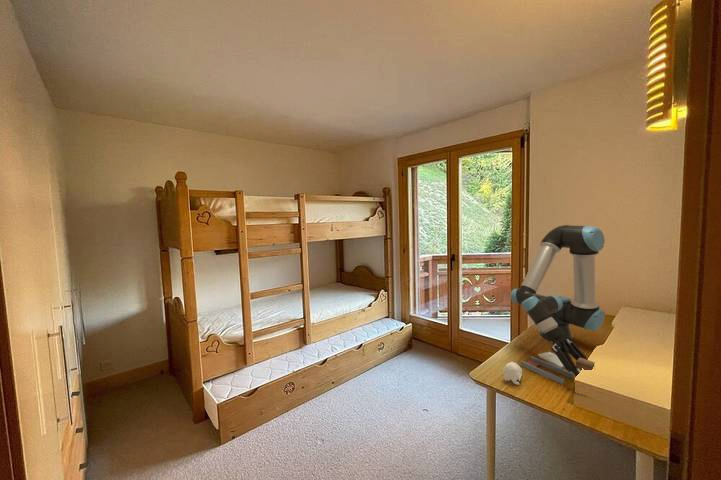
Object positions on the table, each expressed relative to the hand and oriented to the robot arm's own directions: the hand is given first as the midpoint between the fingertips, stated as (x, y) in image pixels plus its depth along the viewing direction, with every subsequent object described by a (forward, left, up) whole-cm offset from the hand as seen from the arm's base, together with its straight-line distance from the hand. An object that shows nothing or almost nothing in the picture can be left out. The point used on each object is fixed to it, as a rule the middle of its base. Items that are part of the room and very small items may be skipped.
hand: (591, 383), depth 117 cm
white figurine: (+18, -21, -4) cm, 28 cm away
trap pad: (0, -24, -3) cm, 24 cm away
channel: (0, -17, -3) cm, 17 cm away
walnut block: (0, -3, -3) cm, 5 cm away
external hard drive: (-14, -20, -4) cm, 24 cm away
